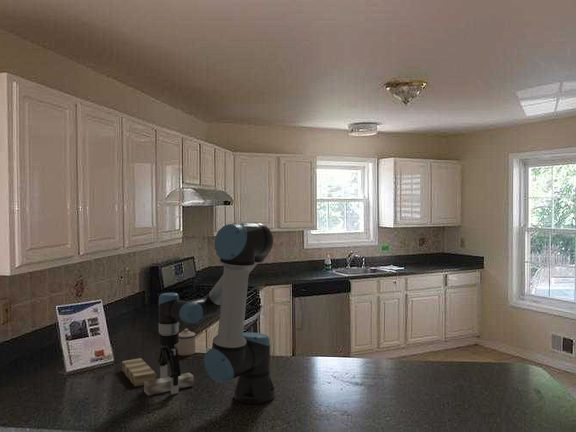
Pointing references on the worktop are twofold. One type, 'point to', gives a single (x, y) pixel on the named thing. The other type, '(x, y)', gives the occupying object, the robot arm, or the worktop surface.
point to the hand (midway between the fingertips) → (169, 387)
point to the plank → (167, 384)
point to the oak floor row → (138, 371)
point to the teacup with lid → (186, 343)
